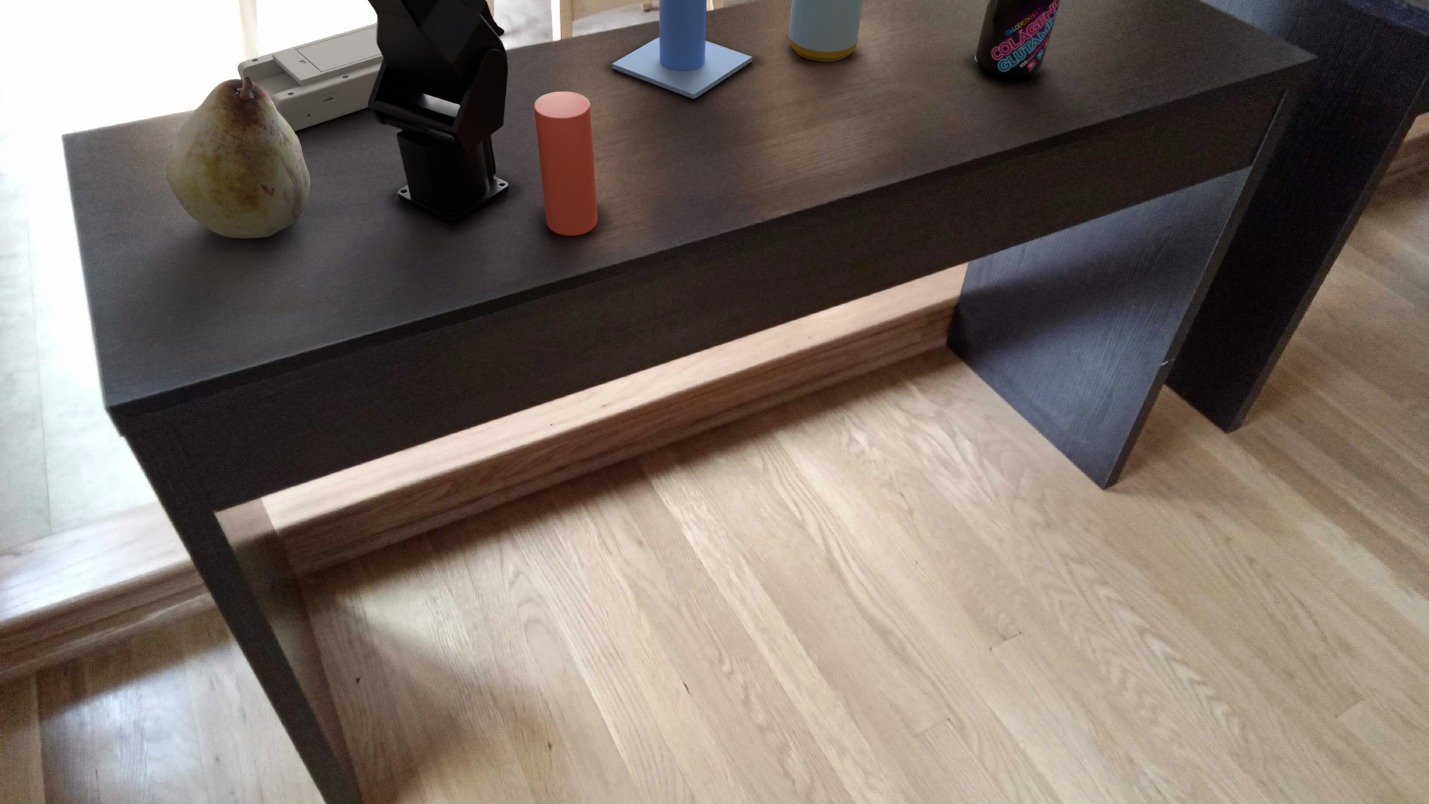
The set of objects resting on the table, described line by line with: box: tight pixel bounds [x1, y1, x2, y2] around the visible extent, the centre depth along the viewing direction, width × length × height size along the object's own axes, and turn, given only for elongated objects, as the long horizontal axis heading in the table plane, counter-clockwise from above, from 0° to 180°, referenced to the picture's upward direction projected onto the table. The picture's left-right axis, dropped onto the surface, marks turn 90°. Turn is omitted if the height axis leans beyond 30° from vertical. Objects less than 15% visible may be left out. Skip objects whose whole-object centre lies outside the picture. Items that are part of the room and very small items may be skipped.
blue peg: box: [658, 0, 708, 71], centre depth 91 cm, size 4×4×10 cm
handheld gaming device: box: [237, 22, 383, 133], centre depth 87 cm, size 9×15×4 cm, turn 131°
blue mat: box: [611, 36, 753, 100], centre depth 94 cm, size 10×10×1 cm
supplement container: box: [974, 0, 1062, 83], centre depth 93 cm, size 7×7×10 cm
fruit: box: [165, 76, 311, 239], centre depth 69 cm, size 10×9×12 cm
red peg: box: [533, 91, 598, 237], centre depth 72 cm, size 4×4×10 cm
